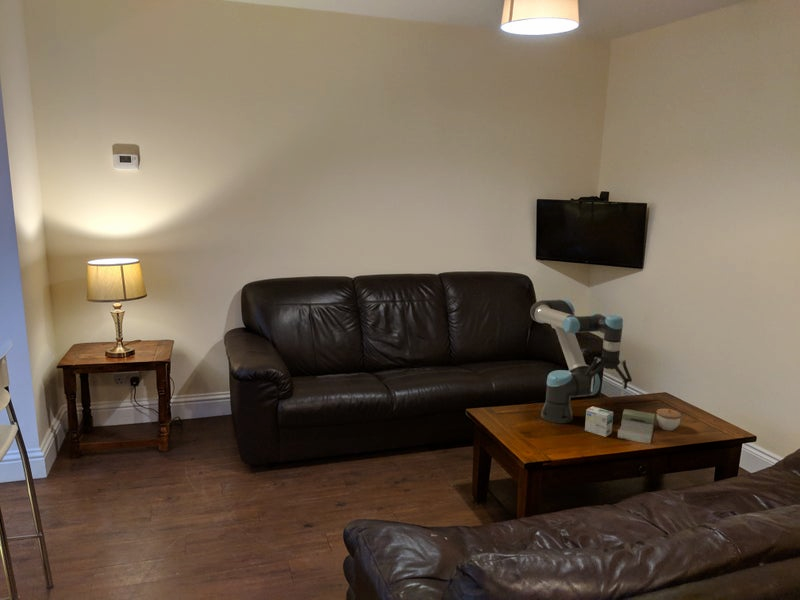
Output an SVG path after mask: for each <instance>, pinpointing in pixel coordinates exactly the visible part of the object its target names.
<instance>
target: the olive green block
mask: <svg viewBox="0 0 800 600" xmlns="http://www.w3.org/2000/svg"><path fill="white" fill-rule="evenodd" d="M655 417H656V414H655V413H651V412H645V411H639V410H633V409H627V408H624V409H623V412H622V418H621V420H622V419H627V420H632V421H638V422H644V423H649V424H653V428H654V425H655Z"/></svg>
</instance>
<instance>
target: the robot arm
mask: <svg viewBox="0 0 800 600" xmlns="http://www.w3.org/2000/svg"><path fill="white" fill-rule="evenodd" d="M530 317H531V319H532V320H533V321H535V322H536V323H540V324H545V323H546V324H549V325H550V326H551V328H552V329H554V330H555V332H556V335H557V337H558V341H559V344H560V347H561V350H562V352H563V355H564V358H565V362H566V364H567V367H568V370H566V369H565V370H564V369H563V370H562V369H558V370H557V369H556V370H553V371H551V372H549V373H548V374H547V379H546V389H545V390H546V393H545V402H544V405H543V407H542V409H541V414H540V417H541V418H542V419H543V420H545V421H546V422H549V423H553V424H569V423H570V422H572V421H573V418H574V417H573V416H574V415H573V411H572V407H571V398H576V397H577V398H579V397H589V396H594V395H596V394H597V393H598V392H599V389H600V386H601V380H600V379H601V378H600V376H599V374H598V373H599V372H600V371H602V370H603V369H606V370H615V371H616V372H617V373H618V375H619V377H620V378H621V379H622V384H621V397H624V393H625V392H624V390H626V389H627V387H628V383H629V382H630V383H631V382H632V381H633V379H632V376H631V374H630V372H629V369H628V367H627V362H626V360H625V359H624V360H620V355H621V353H620V352H621V351H620V350H621V344H622V336H623V335H622V334H623V327H624V325H623V323H624V320H623V317H621V316H619V315H614V314H612V315H611V314H609V315H608V314H607V316H604V315H602V314H601V313H592V314H591V315H585V316H583V315H582V316H577V315H576V314H575V307H574V305H573V303H572V302H571V301H570V300H568V299H559V298H558V299H550V300H549V299H548V300H547V299H546V300H545V299H544V300H543V299H542V300H538V301H536V302H535V303H533V304H532V306H531V307H530ZM592 332H593V333H596V332H597V333H598V332H600V333H602V334H603V340H602V341H603V343H602V352H601V353H602V354H601V358H599V357H598V356H595V357H594V359H593V360H594V361H593V362H592V363H591V365H588V364H586V362H585V358H584V355H583V352H582V351H581V347H580V344H579V342H578V339H577V337H576V334H577V333H578V334H579V333H592ZM599 362H600V365H599V366H598V367H596V369H594V368H595V366H597V364H598V363H599ZM619 365H621V366H622V367H623V370H624V372H625V374H624V373H623V372H622V370H621V369H620V367H619Z"/></svg>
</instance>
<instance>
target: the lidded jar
mask: <svg viewBox="0 0 800 600" xmlns="http://www.w3.org/2000/svg"><path fill="white" fill-rule="evenodd" d="M681 417H682V414H681V413H680V412H679V411H677V410H674V409H671V408H659V409H657V410H656V421H657V424H658V426H659V427H660V429H662V430H664V431H674V430H675V429H676V428H677V427H679V425H680V423H681Z"/></svg>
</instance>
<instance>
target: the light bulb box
mask: <svg viewBox="0 0 800 600" xmlns="http://www.w3.org/2000/svg"><path fill="white" fill-rule="evenodd" d="M585 411H586V412H585V422H584V431H585V432H589V433H592V434H595V435H598V436H602V437H605V438H606V437H607V436H609V435H611V434H612V433H613V421H614V420H613V419H614V411H611V410H607V409H605V408H604V409H603V408H600V407H596V406H591V407H588V408H587V409H586V410H585Z"/></svg>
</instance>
